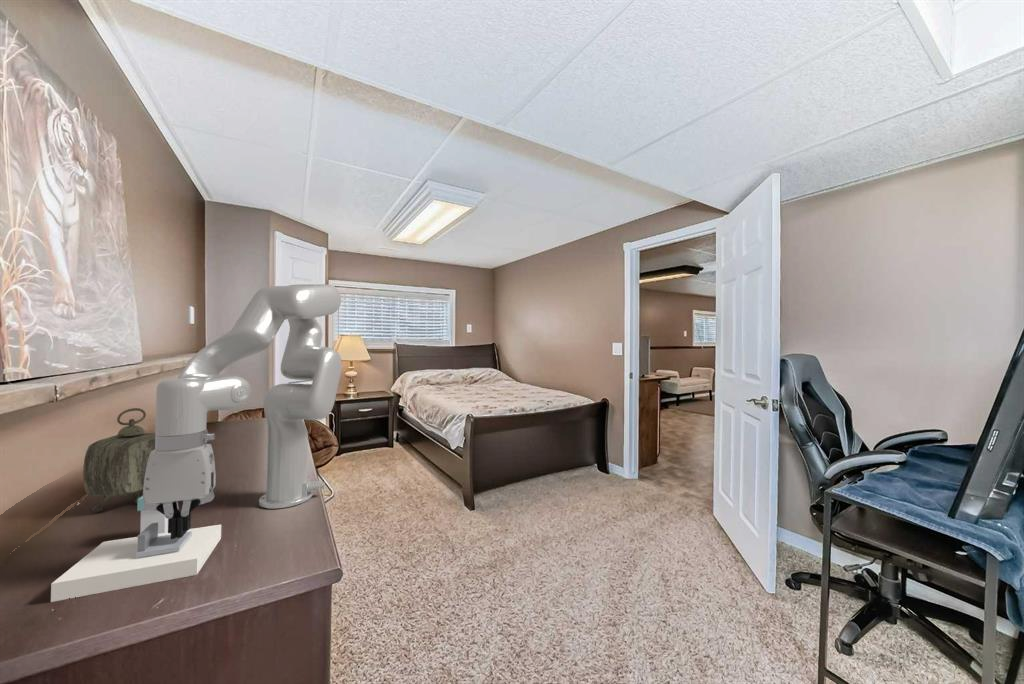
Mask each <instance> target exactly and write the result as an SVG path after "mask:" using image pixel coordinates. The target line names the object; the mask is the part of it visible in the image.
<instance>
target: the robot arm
mask: <svg viewBox="0 0 1024 684" xmlns="http://www.w3.org/2000/svg"><path fill="white" fill-rule="evenodd" d="M341 304H342V297H341V293H340V292H339V290H338V288H336V287H335V286H334V285H331V284H328V283H327V284H325V283H324V284H322V283H321V284H319V283H318V284H316V283H315V284H310V283H309V284H303V283H302V284H300V283H299V284H288V285H269V286H263V287H261V288H260V289H258V290H257V291H256V292H255V294H254V295H253V297H252V298H251V299H250V301H249V302H248V303H247V305H246V307H245V309H244V310H243V312H242V313H241V315H240V316H239V318H238V319H237V320H236V321H235V324H234V325H233V326H232V328H231V329H230V330H229V331H227V332H226V333H224V334H222V335H221V336H219V337H218V338H217V339H214V340H213V341H211V342H210V343H208V345H206V346H204V347H203V348H201V349H200V350H199V351H198V352H196V353H195V354H194V355H193V356H192V357H191V358H190V360H189V361H188V362H187V363H186V365H185V366H184V368H183V369H182V370H181V372H180V373H179V375H178V376H177V378H175V377H174V378H168V379H164V380H161V381H160V382H158V384H157V386H156V392H155V393H156V396H155V397H156V398H155V401H156V402H155V430H154V433H155V434H156V435H155V449H154V450H153V451H151V453H150V456H149V459H148V463H147V467H146V472H145V478H144V486H143V495H142V496H143V501H144V505H143V509H144V510H157V511H159V512H160V513H162V514H164V515H165V518H167V519H168V533H171V539H175V538H176V537H178V538H182V537H183V535H184V534H185V533H186V532H187V531H188V530H189V529H191V521H192V517H191V516H192V515H191V514H192V512H193V510H195V509H196V508H197V507H198V506H200V505H204V504H206V503H210V502H212V501H213V500H214V499H215V497H216V496H215V492H214V489H215V487H216V482H217V481H216V479H217V478H216V465H215V455H214V450H213V447H212V444H211V443H208V442H210V441H215V439H216V433H215V432H212V433H211V432H208V431H209V430H208V429H207V420H208V419H207V416H208V412H210V411H228V410H233V409H236V408H237V409H238V408H239V407H241V406H243V405H245V403H247V402H248V400H249V398H251V397H250V396H251V394H252V389H251V388H252V387H251V385H250V384H249V383H250V382H248V380H246V379H245V378H244V377H242V376H241V377H240V376H238V375H233V374H220V373H222V371H223V370H224V369H226V368H227V367H228V366H230V365H231V364H234V363H235V362H237V361H240V360H242V359H245V358H248V357H251V356H254V355H256V354H258V353H261V352H264V351H265V350H267V349H268V348H269V347H270V346H271V345H272V343H273V341H274V339H275V338H276V336H277V334H278V332H279V330H280V328H281V327H282V326H283V323H284V322H285V320H287V322H288V326H289V332H288V336H287V340H286V344H285V348H284V350H283V354H282V358H281V361H280V362H281V363H280V373H281V375H282V376H283V377H284V378H286V379H289V380H296V381H297V380H298V381H312V383H311V384H310V383H308V384H307V383H279V384H275V385H273V386H272V387H270V388H269V389H268V390H267V391H266V393H265V394H264V396H263V402H262V403H263V409H264V416H265V421H266V429H267V431H266V433H267V435H266V436H267V441H266V443H267V444H266V448H267V449H266V481H265V482H266V483H265V484H266V486H265V487H266V490H265V491H266V492H265V494H263V495H261V496H260V498H259V500H258V505H259V506H260V507H262V508H264V509H272V510H273V509H274V510H275V509H284V508H289V507H294V506H298V505H300V504H303V503H305V502H307V501H309V500H310V499H312V497H313V495H314V491H322V490H325V483H326V482H325V481H324V482H321V480H315V481H311V480H310V477H309V476H308V441H309V436H308V435H309V434H308V429H307V427H306V423H305V422H304V420H306V421H307V420H308V421H309V420H310V421H311V420H312V421H319V420H324V419H325V418H327V417H328V416H329V415H330V414H331V412H332V410H333V407H334V405H335V401H336V396H337V392H338V388H339V383H340V379H341V376H342V375H341V374H342V370H343V364H342V363H343V362H342V357H341V355H340V353H339V351H338V350H336V349H335V348H332V347H328V346H327V347H326V346H321V343H322V340H323V330H322V328H321V327H322V326H321V325H320V323H319V322H318V320H317V318H319V317H324V316H328V315H332V314H334V313H335V314H336V312H337V311H338V310H339V309H340V307H341ZM319 487H320V489H319ZM179 502H182V507H181V511H180V507H179Z"/></svg>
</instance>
